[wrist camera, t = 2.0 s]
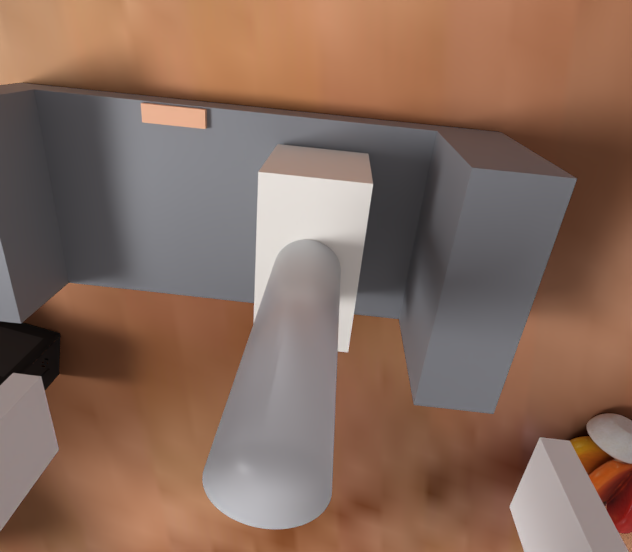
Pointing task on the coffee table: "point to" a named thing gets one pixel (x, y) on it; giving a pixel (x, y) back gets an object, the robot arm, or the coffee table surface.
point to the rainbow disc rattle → (609, 464)
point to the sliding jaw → (293, 339)
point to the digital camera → (29, 351)
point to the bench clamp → (241, 218)
